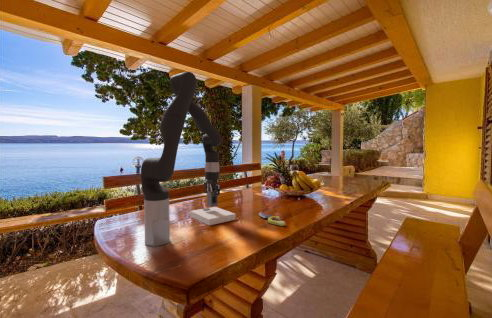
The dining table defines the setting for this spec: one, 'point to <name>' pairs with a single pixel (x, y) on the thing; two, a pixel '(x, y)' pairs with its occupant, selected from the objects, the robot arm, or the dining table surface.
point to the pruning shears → (273, 219)
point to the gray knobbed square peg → (209, 199)
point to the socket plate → (212, 215)
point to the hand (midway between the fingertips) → (212, 202)
